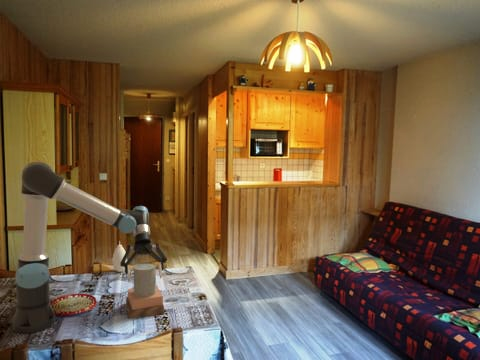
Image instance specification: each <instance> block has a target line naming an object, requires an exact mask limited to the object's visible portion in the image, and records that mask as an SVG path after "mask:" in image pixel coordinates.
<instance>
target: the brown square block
mask: <svg viewBox="0 0 480 360" xmlns="http://www.w3.org/2000/svg"><path fill="white" fill-rule="evenodd" d="M127 296H128V300H129V302H130V305H131V308H132V310H136V309H142V308H148V307H154V306H160V305H164V296H163V294H162V293H161V290H160V289H159V287H158V286H157V284H156V293H155V294H154V295H153V296H150V297H144V298H143V297H136V296H135V295H134V288H129V289H127Z"/></svg>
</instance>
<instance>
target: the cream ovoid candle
mask: <svg viewBox="0 0 480 360" xmlns="http://www.w3.org/2000/svg"><path fill="white" fill-rule="evenodd" d="M125 253H126V250H125V249H124V247H123V245H122V244H121V241H120V240H119V244H118V245H116V248H115V250H114V251H113V254H112V266H113V269H114V270H115V271H116V272H118V273H122V272H123V271H125V267H123V266H122V267H121V266H120V263H121V261H122V259H123V257H124V255H125ZM127 260H128V258H127V259H126V261H125V263H126V262H127Z"/></svg>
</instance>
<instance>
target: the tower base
mask: <svg viewBox="0 0 480 360" xmlns="http://www.w3.org/2000/svg"><path fill="white" fill-rule="evenodd" d="M125 305H126V307H125V308H126V314H127V319H134V318H135V319H136V318H143V317H149V316H150V317H151V316H156V315H163V314H165V305H164V304H163V305H160V306H154V307H148V308H142V309H136V310H132V308H131V305H130V302H129V300H128V295H127V296H126V297H125Z"/></svg>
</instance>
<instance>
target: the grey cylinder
mask: <svg viewBox="0 0 480 360" xmlns="http://www.w3.org/2000/svg"><path fill="white" fill-rule="evenodd" d="M156 267H157V265H156V264H155V263H153V262H140V263H136V264H134V265H133V289H134V295H135V296H136V297H143V298H144V297H150V296H153V295H154V294H155V293H156V285H157V284H156V282H157V281H156V277H157V276H156V275H157V274H156V271H157V270H156V269H157V268H156Z"/></svg>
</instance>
